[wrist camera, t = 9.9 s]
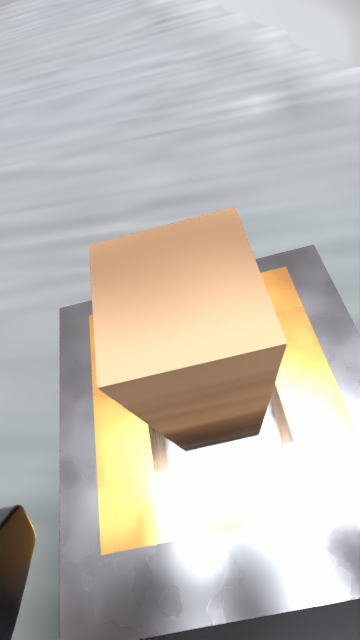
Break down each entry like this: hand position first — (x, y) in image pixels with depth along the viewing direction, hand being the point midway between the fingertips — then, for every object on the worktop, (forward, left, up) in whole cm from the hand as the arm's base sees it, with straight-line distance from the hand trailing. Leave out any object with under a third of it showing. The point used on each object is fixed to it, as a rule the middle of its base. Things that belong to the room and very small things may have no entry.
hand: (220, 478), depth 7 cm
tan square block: (+4, -2, -10) cm, 11 cm away
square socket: (+4, -2, -12) cm, 12 cm away
